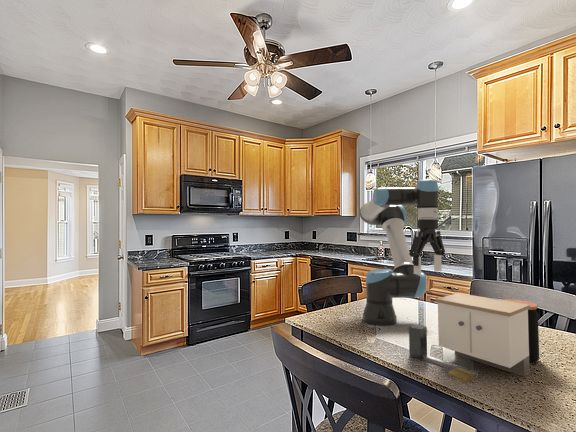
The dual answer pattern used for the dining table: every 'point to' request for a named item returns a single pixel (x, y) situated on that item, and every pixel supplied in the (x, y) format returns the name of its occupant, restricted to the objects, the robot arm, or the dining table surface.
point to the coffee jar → (531, 330)
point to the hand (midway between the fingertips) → (427, 272)
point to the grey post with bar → (420, 348)
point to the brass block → (461, 375)
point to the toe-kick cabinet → (485, 330)
